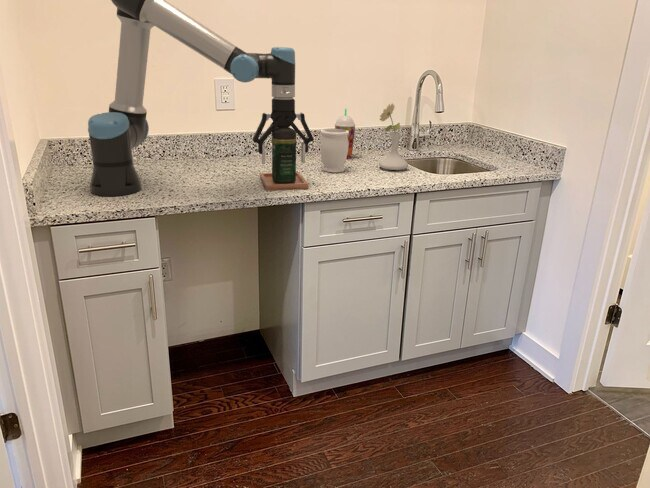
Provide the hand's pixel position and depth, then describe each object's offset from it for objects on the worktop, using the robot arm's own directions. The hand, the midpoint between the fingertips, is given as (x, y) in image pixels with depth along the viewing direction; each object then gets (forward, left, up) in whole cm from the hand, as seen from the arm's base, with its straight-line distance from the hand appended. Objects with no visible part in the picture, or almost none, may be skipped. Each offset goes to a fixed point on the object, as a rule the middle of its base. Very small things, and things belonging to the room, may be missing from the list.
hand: (283, 162), depth 180 cm
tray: (0, 0, -7) cm, 7 cm away
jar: (+22, +16, -7) cm, 28 cm away
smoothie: (+32, +37, -7) cm, 49 cm away
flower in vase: (+45, +15, -7) cm, 48 cm away
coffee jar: (0, 0, -7) cm, 7 cm away
